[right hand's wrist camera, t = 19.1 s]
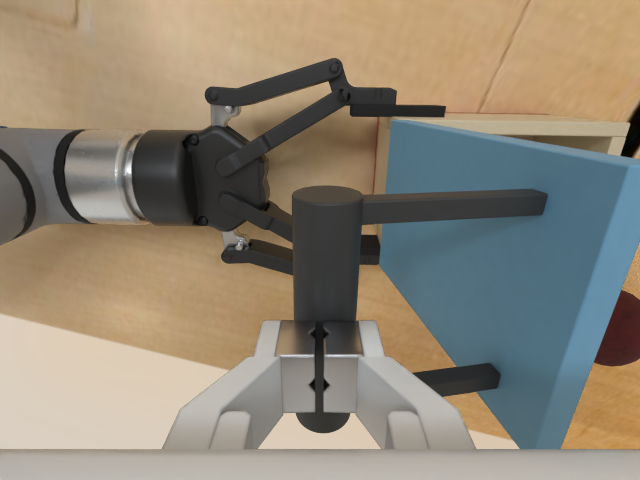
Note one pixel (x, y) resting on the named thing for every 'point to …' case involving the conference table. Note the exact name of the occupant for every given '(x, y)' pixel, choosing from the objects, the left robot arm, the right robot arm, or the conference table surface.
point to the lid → (481, 265)
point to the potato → (621, 333)
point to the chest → (511, 135)
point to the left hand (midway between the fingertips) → (430, 183)
